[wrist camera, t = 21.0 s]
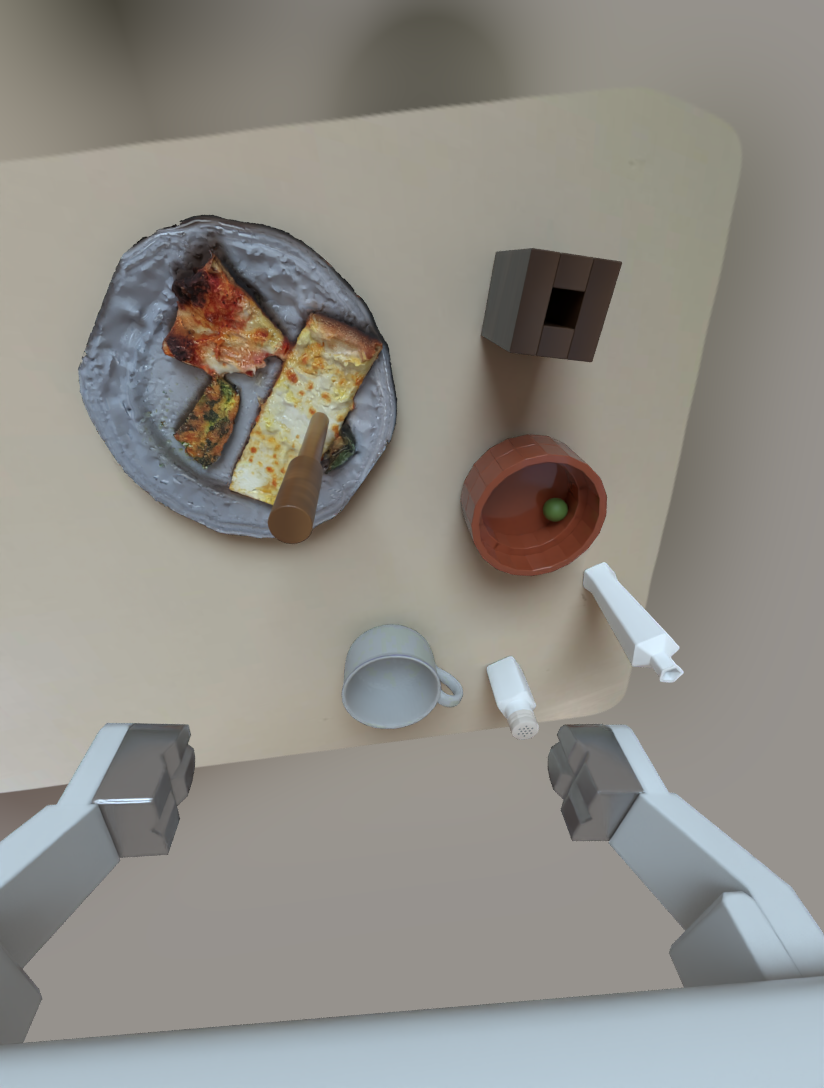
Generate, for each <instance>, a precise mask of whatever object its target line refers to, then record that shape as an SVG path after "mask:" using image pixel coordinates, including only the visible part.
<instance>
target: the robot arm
mask: <svg viewBox="0 0 824 1088" xmlns="http://www.w3.org/2000/svg"><path fill="white" fill-rule="evenodd" d="M190 736H191V733H190V729H189V725H186V724H141V723H107V724H106V725H105V726H104V727H103V728H102V729H101V730H100V731H99V732H98V733H97V735H96V737H95V739H94V740H93V742H92V744H91V746H90V747H89V749H88V751H87V753H86V754H85V756H84V758H83V760H82V761H81V763H80V765H79V766H78V768H77V770H76V772H75V773H74V775H73V777H72V779H71V780H70V782H69V784H68V786H67V787H66V789H65V791H64V793H63V794H62V796H61V798H60V799H59V801H58V803H57V805H47V806H46V807H45V808H44V809H42V810H41V811H40V812H38V813H37V814H36V815H35V816H33V817H32V818H30V819H29V820H28V821H27V822H25V823H24V824H23V825H21V826H20V827H19V828H18V829H16V830H15V831H14V832H12V833H11V834H10V835H9V836H7V837H6V838H5V839H3V840H2V841H1V842H0V1088H824V934H823V933H822V931H821V929H820V928H819V926H818V925H817V923H816V922H815V920H814V919H813V918H812V916H811V915H810V913H809V912H808V910H807V909H806V908H805V906H804V904H803V903H802V902H801V900H800V899H799V897H798V896H797V894H796V893H795V891H794V890H793V888H792V887H791V886H789V885H788V884H787V883H786V882H785V881H783V880H782V879H781V878H780V877H779V876H777V875H776V874H775V873H774V872H772V871H771V870H770V869H769V868H767V867H766V866H765V865H764V864H762V863H761V862H760V861H759V860H758V859H756V858H755V857H754V856H752V855H751V854H750V853H749V852H748V851H746V850H745V849H744V848H743V847H741V846H740V845H739V844H738V843H736V842H735V841H734V840H733V839H732V838H730V837H729V836H728V835H727V834H725V833H724V832H723V831H722V830H720V829H719V828H718V827H717V826H715V825H714V824H713V823H712V822H710V821H709V820H708V819H707V818H706V817H704V816H703V815H702V814H701V813H699V812H698V811H697V810H696V809H694V808H693V807H692V806H691V805H689V804H688V803H687V802H686V801H684V800H683V799H682V798H681V797H680V796H678V795H677V794H676V793H669V792H668V790H667V789H666V787H665V785H664V784H663V782H662V780H661V778H660V777H659V775H658V774H657V772H656V770H655V768H654V766H653V765H652V763H651V761H650V760H649V758H648V756H647V754H646V753H645V751H644V749H643V748H642V746H641V744H640V742H639V741H638V739H637V737H636V736H635V734H634V732H633V731H632V729H631V728H630V727H628V726H627V725H603V724H574V725H563V726H562V727H560V729H559V731H558V733H557V736H558V739H559V742H558V743H556V744H555V745H554V746H552V747H551V750H550V752H549V755H548V772H549V778H550V781H551V784H552V787H553V790H554V791H555V792H556V793H557V794H558V795H559V796H561V797H562V799H564V800H563V804H562V807H561V812H562V815H563V817H564V820H565V823H566V826H567V828H568V831H569V833H570V836H571V839H572V841H609V844H610V845H611V847H612V848H613V849H614V850H615V851H616V852H617V853H618V855H619V856H620V857H621V858H622V859H623V860H624V861H625V862H626V864H627V865H628V866H629V867H630V868H631V869H632V870H633V872H634V873H635V874H636V875H637V876H638V877H639V878H640V880H641V881H642V882H643V883H644V884H645V885H646V886H647V888H648V889H649V890H650V891H651V892H652V893H653V894H654V896H655V897H656V898H657V899H658V900H659V901H660V902H661V904H662V905H663V906H664V907H665V908H666V909H667V910H668V912H669V913H670V914H671V915H672V916H673V917H674V918H675V920H676V921H677V922H678V923H679V924H680V925H681V926H682V928H683V929H684V930H685V932H684V933H683V934H682V935H681V936H680V937H679V938H678V939H677V940H676V941H675V942H674V943H673V944H672V945H671V949H670V951H669V954H670V956H671V959H672V961H673V963H674V965H675V968H676V970H677V972H678V975H679V977H680V979H681V982H682V984H683V986H684V988H675V989H664V990H663V989H662V990H651V991H638V992H627V993H614V994H603V995H591V996H579V997H567V998H555V999H543V1000H531V1001H519V1002H507V1003H495V1004H483V1005H471V1006H459V1007H447V1008H436V1009H423V1010H412V1011H399V1012H388V1013H375V1014H363V1015H351V1016H339V1017H327V1018H317V1019H304V1020H291V1021H280V1022H269V1023H255V1024H243V1025H232V1026H220V1027H208V1028H197V1029H184V1030H172V1031H160V1032H148V1033H137V1034H124V1035H112V1036H100V1037H89V1038H76V1039H64V1040H52V1041H40V1042H28V1043H23V1042H24V1040H25V1037H26V1035H27V1033H28V1030H29V1028H30V1025H31V1023H32V1021H33V1018H34V1016H35V1014H36V1012H37V1009H38V1007H39V1005H40V1002H41V1000H42V996H41V993H40V990H39V988H38V987H37V986H36V985H35V983H34V982H33V981H32V980H31V979H30V977H29V976H28V975H27V974H26V973H25V972H24V970H23V968H24V966H25V965H26V964H27V963H28V962H29V961H30V960H31V959H32V958H33V956H34V955H35V954H36V953H37V952H38V951H39V950H40V949H41V948H42V947H43V945H44V944H45V943H46V942H47V941H48V940H49V939H50V938H51V936H52V935H53V934H54V933H55V932H56V931H57V930H58V929H59V928H60V927H61V926H62V925H63V923H64V922H65V921H66V920H67V919H68V918H69V916H71V915H72V913H73V912H74V911H75V910H76V909H77V908H78V907H79V906H80V905H81V904H82V902H83V901H84V900H85V899H86V898H87V897H88V896H89V895H90V894H91V892H92V891H93V890H94V889H95V888H96V887H97V886H98V885H99V884H100V883H101V881H102V880H103V879H104V878H105V877H106V876H107V875H108V874H109V873H110V872H111V870H112V869H113V868H114V867H115V866H116V865H117V864H118V863H119V861H120V858H122V857H138V856H154V855H168V853H169V850H170V847H171V844H172V841H173V838H174V835H175V832H176V829H177V826H178V823H179V820H180V817H179V813H178V809H177V806H178V805H179V804H180V803H181V802H182V801H183V800H184V799H185V798H186V797H187V796H188V793H189V790H190V787H191V784H192V780H193V774H194V769H195V753H194V748H192V747H191V746H190V745H188V742H189V739H190Z"/></svg>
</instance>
